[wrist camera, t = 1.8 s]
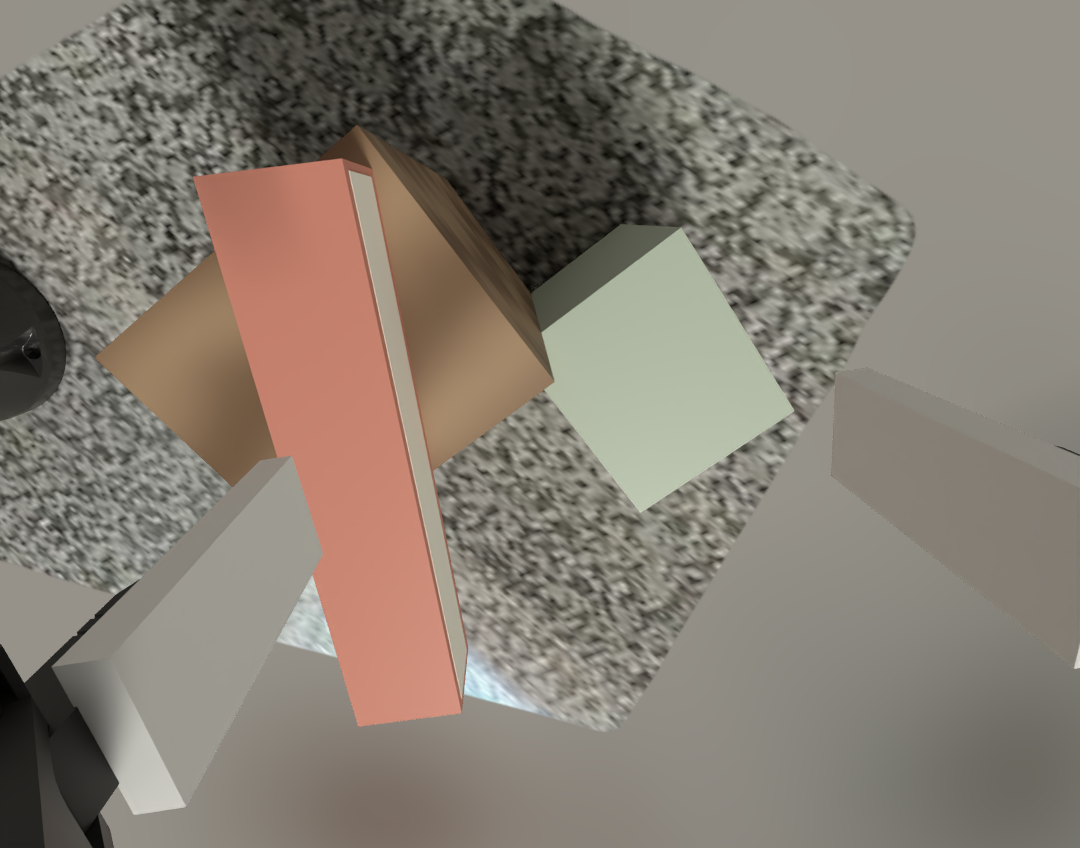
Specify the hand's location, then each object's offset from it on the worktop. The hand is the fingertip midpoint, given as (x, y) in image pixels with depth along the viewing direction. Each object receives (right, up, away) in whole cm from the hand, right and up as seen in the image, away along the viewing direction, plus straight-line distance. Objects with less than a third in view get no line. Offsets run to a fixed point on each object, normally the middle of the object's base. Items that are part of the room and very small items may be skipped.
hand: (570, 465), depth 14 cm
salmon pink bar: (-8, 0, +11) cm, 13 cm away
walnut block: (-11, +13, +38) cm, 41 cm away
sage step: (+6, +10, +40) cm, 41 cm away
